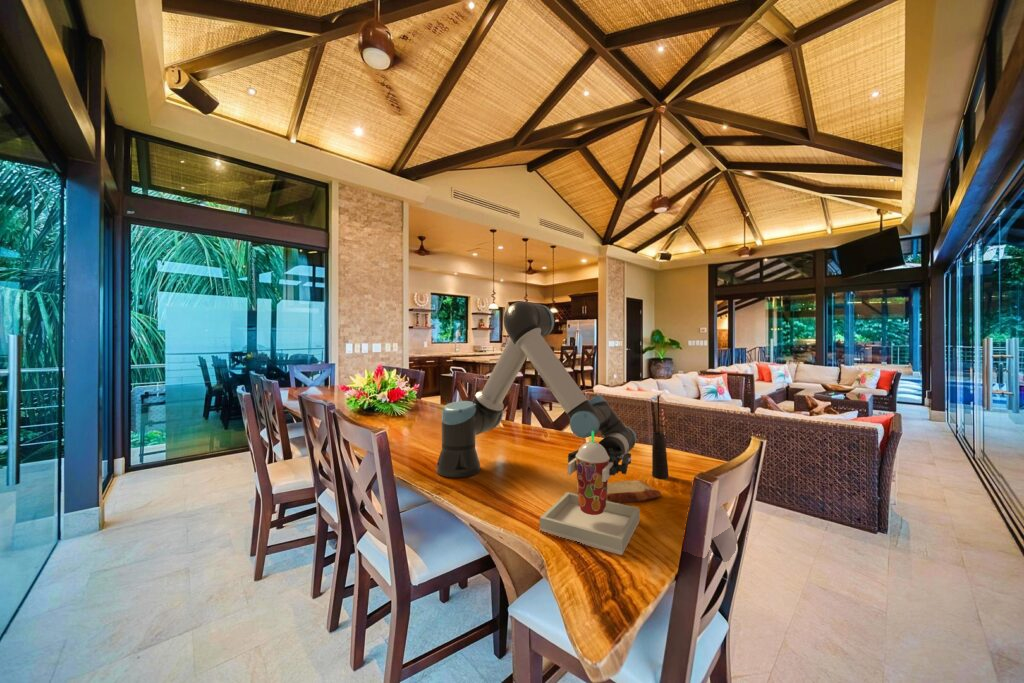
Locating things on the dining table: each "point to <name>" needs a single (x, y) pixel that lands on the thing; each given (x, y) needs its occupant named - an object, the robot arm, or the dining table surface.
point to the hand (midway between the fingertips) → (586, 472)
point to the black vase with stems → (659, 453)
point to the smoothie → (591, 477)
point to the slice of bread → (630, 491)
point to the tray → (592, 524)
